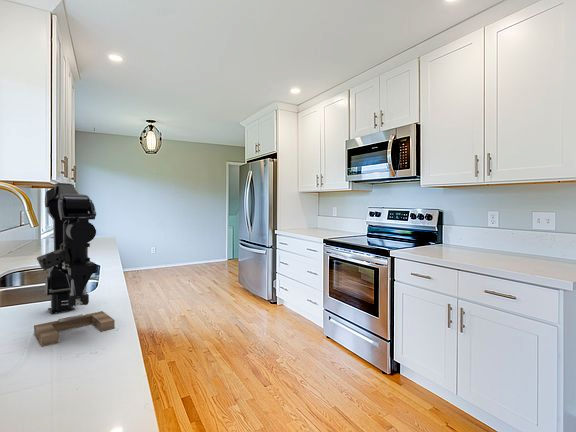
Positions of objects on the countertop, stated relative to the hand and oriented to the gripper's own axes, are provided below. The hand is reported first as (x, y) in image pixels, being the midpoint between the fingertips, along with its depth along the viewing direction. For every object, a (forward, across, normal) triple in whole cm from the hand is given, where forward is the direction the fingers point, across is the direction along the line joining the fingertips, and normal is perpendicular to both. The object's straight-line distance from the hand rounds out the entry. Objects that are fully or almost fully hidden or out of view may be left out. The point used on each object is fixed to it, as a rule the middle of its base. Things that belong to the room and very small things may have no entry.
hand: (76, 294), depth 89 cm
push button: (+3, 0, 0) cm, 3 cm away
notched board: (+11, -1, 0) cm, 11 cm away
